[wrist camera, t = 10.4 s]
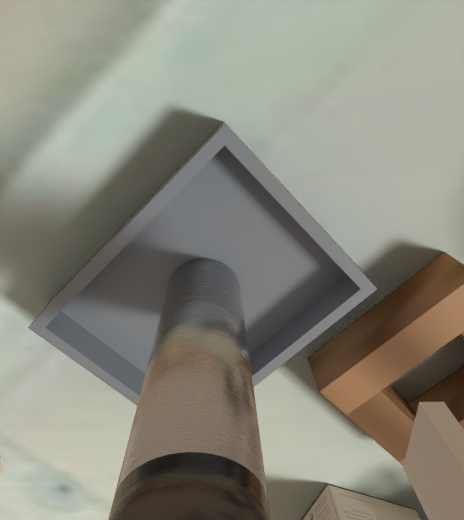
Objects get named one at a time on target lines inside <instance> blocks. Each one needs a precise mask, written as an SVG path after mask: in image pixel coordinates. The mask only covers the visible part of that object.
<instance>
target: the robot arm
mask: <svg viewBox="0 0 464 520" xmlns="http://www.w3.org/2000/svg"><path fill="white" fill-rule="evenodd" d="M403 468H404V470H405V472H406V474H407V476H408V478H409V480H410V483H411V485H412V487H413V489H414V491H415V493H416V495H417V497H418V499H419V501H420V503H421V505H422V507H423V509H424V512H425V514H426V516H427V518H428V520H464V429H463V428H462V426H461V425H460V424H459V422H458V421H457V420H456V418H455V417H454V415H453V414H452V413H451V411H450V410H449V408H448V407H447V406H446V404H445V403H444V402H419V405H418V409H417V413H416V417H415V421H414V425H413V429H412V433H411V437H410V441H409V445H408V449H407V453H406V457H405V461H404V465H403ZM3 470H4V468H3V464H2V461H1V457H0V475H1V474H2V472H3Z"/></svg>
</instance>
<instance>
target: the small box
mask: <svg viewBox="0 0 464 520" xmlns="http://www.w3.org/2000/svg"><path fill="white" fill-rule="evenodd" d="M303 520H421V519H420V517H419V515H418V513H417V511H416V510H414V509H410V508H407V507H403V506H400V505H396V504H393V503H390V502H386V501H383V500H379V499H376V498H373V497H369V496H366V495H362V494H359V493H355V492H352V491H348V490H345V489H341V488H338V487H334V486H331V485H327V486H326V488H325V489H324V491H323V492H322V493H321V495H320V496H319V498H318V499H317V500H316V502H315V503H314V504H313V506H312V507H311V509H310V510H309V511H308V513H307V514H306V516H305V517H304V518H303Z"/></svg>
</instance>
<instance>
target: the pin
mask: <svg viewBox="0 0 464 520" xmlns="http://www.w3.org/2000/svg"><path fill="white" fill-rule="evenodd" d="M109 520H271V519H270V512H269V504H268V496H267V489H266V481H265V473H264V466H263V458H262V450H261V443H260V435H259V427H258V420H257V412H256V404H255V396H254V389H253V381H252V373H251V366H250V358H249V350H248V343H247V335H246V327H245V320H244V312H243V304H242V297H241V289H240V283H239V280H238V278H237V276H236V274H235V273H234V272H233V271H232V270H231V268H229V267H228V266H227V265H225V264H224V263H222V262H220V261H217V260H214V259H209V258H198V259H194V260H190V261H188V262H186V263H184V264H182V265H181V266H180V267H178V268H177V269H176V270H175V272H174V273H173V274H172V276H171V278H170V281H169V284H168V288H167V292H166V296H165V299H164V303H163V307H162V311H161V315H160V319H159V323H158V327H157V331H156V335H155V339H154V343H153V347H152V351H151V355H150V358H149V362H148V366H147V370H146V374H145V378H144V382H143V386H142V390H141V394H140V398H139V402H138V406H137V410H136V414H135V417H134V421H133V425H132V429H131V433H130V437H129V441H128V445H127V449H126V453H125V457H124V461H123V465H122V469H121V473H120V476H119V480H118V484H117V488H116V492H115V496H114V500H113V504H112V508H111V512H110V516H109Z"/></svg>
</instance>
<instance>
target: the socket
mask: <svg viewBox="0 0 464 520" xmlns="http://www.w3.org/2000/svg"><path fill="white" fill-rule="evenodd" d="M457 336H459V337H460V338H461V339H462V340H463V341H464V265H463V264H462V263H460V262H459V261H457V260H456V259H454V258H453V257H451V256H450V255H448V254H447V253H445V252H444V253H442V254H441V255H440V256H439V257H437V258H436V259H435V260H433V261H432V262H431V263H430V264H428V265H427V266H426V267H424V268H423V269H422V270H421V271H419V272H418V273H417V274H415V275H414V276H413V277H412V278H410V279H409V280H408V281H407V282H405V283H404V284H403V285H401V286H400V287H399V288H398V289H396V290H395V291H394V292H392V293H391V294H390V295H389V296H387V297H386V298H385V299H383V300H382V301H381V302H380V303H378V304H377V305H376V306H375V307H373V308H372V309H371V310H369V311H368V312H367V313H366V314H364V315H363V316H362V317H360V318H359V319H358V320H357V321H355V322H354V323H353V324H351V325H350V326H349V327H348V328H346V329H345V330H344V331H342V332H341V333H340V334H339V335H337V336H336V337H335V338H334V339H332V340H331V341H330V342H328V343H327V344H326V345H325V346H323V347H322V348H321V349H319V350H318V351H317V352H316V353H314V354H313V355H312V356H310V357H309V358H308V360H309V363H310V366H311V369H312V372H313V375H314V377H315V380H316V383H317V386H318V389H319V392H320V393H322V394H323V395H324V396H325V397H326V398H327V399H328V400H329V401H331V402H332V403H333V404H334V405H335V406H336V407H337V408H339V409H340V410H341V411H342V412H343V413H344V414H345V415H346V416H348V417H349V418H350V419H351V420H352V421H353V422H354V423H355V424H357V425H358V426H359V427H360V428H361V429H362V430H363V431H365V432H366V433H367V434H368V435H369V436H370V437H371V438H372V439H374V440H375V441H376V442H377V443H378V444H379V445H380V446H382V447H383V448H384V449H385V450H386V451H387V452H388V453H389V454H391V455H392V456H393V457H394V458H395V459H396V460H397V461H399V462H400V463H401V464H402V465H404V461H405V457H406V453H407V449H408V445H409V441H410V437H411V433H412V429H413V425H414V421H415V417H416V413H417V409H418V405H419V402H444V403H445V404H446V406H447V407H448V408H449V410H450V411H451V413H452V414H453V415H454V417H455V418H456V420H457V421H458V422H459V424H460V425H461V426H462V428H463V429H464V366H463V367H462V368H460V369H459V370H457V371H456V372H454V373H453V374H452V375H450V376H449V377H447V378H446V379H444V380H443V381H441V382H440V383H439V384H437V385H436V386H434V387H433V388H431V389H430V390H428V391H427V392H426V393H424V394H423V395H421V396H420V397H418V398H417V399H415V400H414V401H412V402H411V403H410V404H409V403H408V402H407V401H406V400H405V399H404V398H403V397H402V396H401V395H400V394H399V393H397V392H396V391H395V390H394V389H393V388H392V387H391V386H390V384H391V383H392V382H394V381H395V380H397V379H398V378H399V377H401V376H402V375H404V374H405V373H406V372H408V371H409V370H411V369H412V368H413V367H415V366H416V365H418V364H419V363H420V362H422V361H423V360H425V359H426V358H427V357H429V356H430V355H432V354H433V353H434V352H436V351H437V350H439V349H440V348H441V347H443V346H444V345H446V344H447V343H448V342H450V341H451V340H453V339H454V338H455V337H457Z"/></svg>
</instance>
